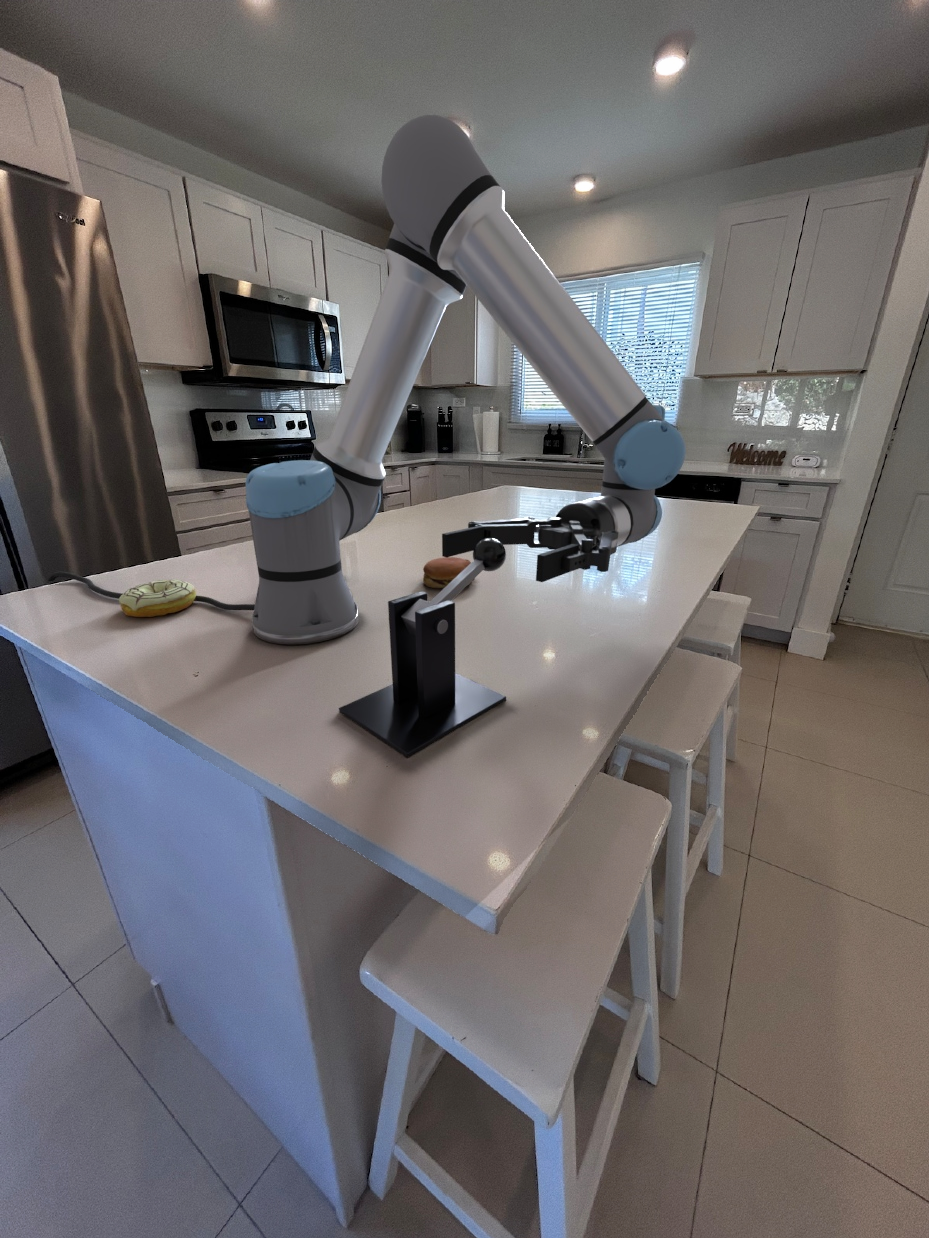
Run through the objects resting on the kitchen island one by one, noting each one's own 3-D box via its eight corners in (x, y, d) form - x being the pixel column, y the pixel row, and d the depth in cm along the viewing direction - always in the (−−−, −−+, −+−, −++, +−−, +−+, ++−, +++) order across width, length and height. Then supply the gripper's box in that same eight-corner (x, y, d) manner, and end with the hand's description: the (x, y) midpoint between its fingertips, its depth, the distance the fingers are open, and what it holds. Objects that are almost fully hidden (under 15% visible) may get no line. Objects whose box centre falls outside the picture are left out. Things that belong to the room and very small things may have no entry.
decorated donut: (115, 608, 84) (109, 586, 82) (185, 593, 91) (180, 573, 89) (132, 625, 77) (126, 601, 75) (206, 608, 84) (202, 586, 82)
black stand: (437, 674, 63) (435, 575, 58) (506, 708, 56) (510, 597, 51) (339, 720, 53) (328, 605, 48) (407, 767, 46) (402, 638, 41)
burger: (414, 581, 98) (413, 557, 96) (453, 573, 103) (453, 550, 101) (443, 595, 90) (443, 570, 88) (484, 586, 95) (484, 561, 94)
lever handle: (491, 555, 58) (482, 529, 56) (515, 561, 56) (508, 534, 54) (407, 635, 52) (393, 609, 50) (430, 646, 50) (418, 619, 47)
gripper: (676, 572, 63) (585, 618, 48) (516, 540, 79) (413, 567, 64) (686, 511, 60) (593, 540, 46) (519, 490, 76) (411, 507, 62)
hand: (487, 556), depth 55 cm, fingers open, 13 cm apart
